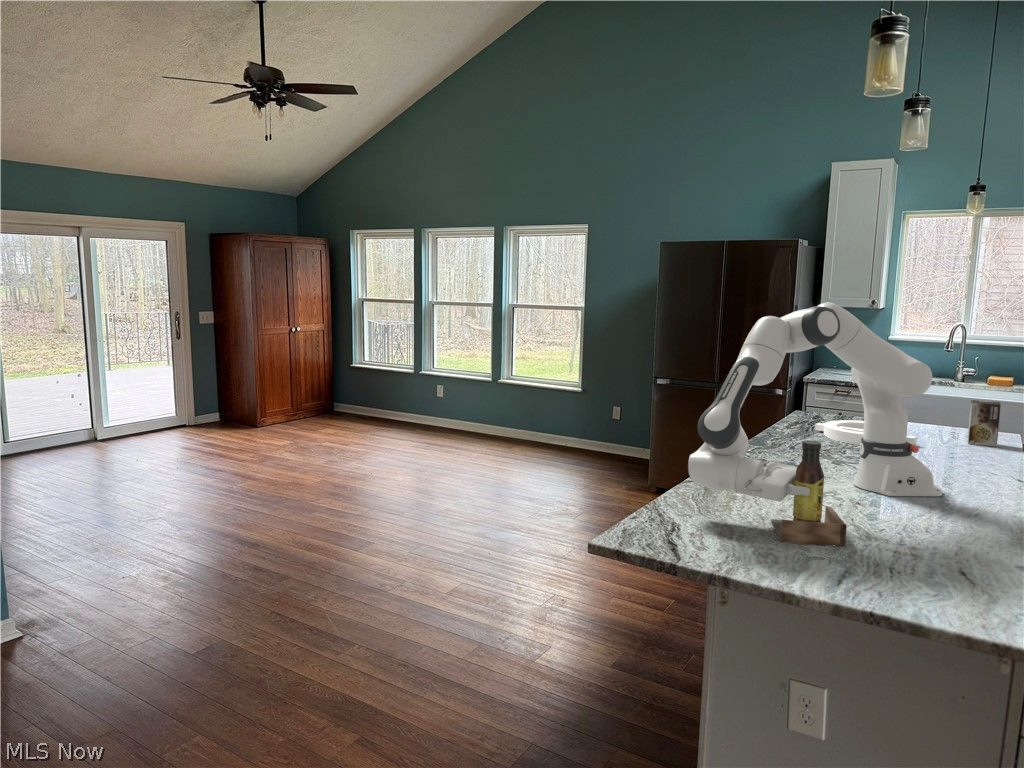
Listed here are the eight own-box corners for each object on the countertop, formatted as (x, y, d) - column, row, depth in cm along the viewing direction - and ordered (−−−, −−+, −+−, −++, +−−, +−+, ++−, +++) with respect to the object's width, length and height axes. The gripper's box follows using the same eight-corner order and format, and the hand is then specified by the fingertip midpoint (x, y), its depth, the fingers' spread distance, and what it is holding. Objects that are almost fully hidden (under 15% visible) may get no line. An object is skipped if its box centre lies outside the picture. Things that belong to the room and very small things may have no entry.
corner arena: (829, 526, 165) (830, 506, 164) (845, 546, 152) (846, 525, 151) (771, 522, 167) (772, 502, 167) (781, 542, 154) (782, 521, 153)
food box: (995, 443, 252) (1000, 401, 250) (997, 447, 247) (1001, 404, 245) (966, 440, 257) (971, 399, 255) (967, 444, 252) (971, 401, 250)
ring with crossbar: (920, 448, 247) (921, 435, 246) (844, 447, 247) (845, 435, 247) (880, 431, 275) (880, 420, 274) (811, 431, 275) (812, 420, 274)
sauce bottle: (822, 530, 155) (828, 446, 152) (793, 527, 157) (799, 444, 154) (819, 520, 161) (825, 440, 158) (791, 517, 163) (796, 438, 160)
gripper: (741, 475, 156) (804, 485, 148) (764, 456, 173) (822, 465, 165) (740, 501, 157) (802, 512, 149) (762, 480, 174) (820, 489, 166)
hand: (813, 487), depth 157 cm, fingers closed on sauce bottle, 6 cm apart
